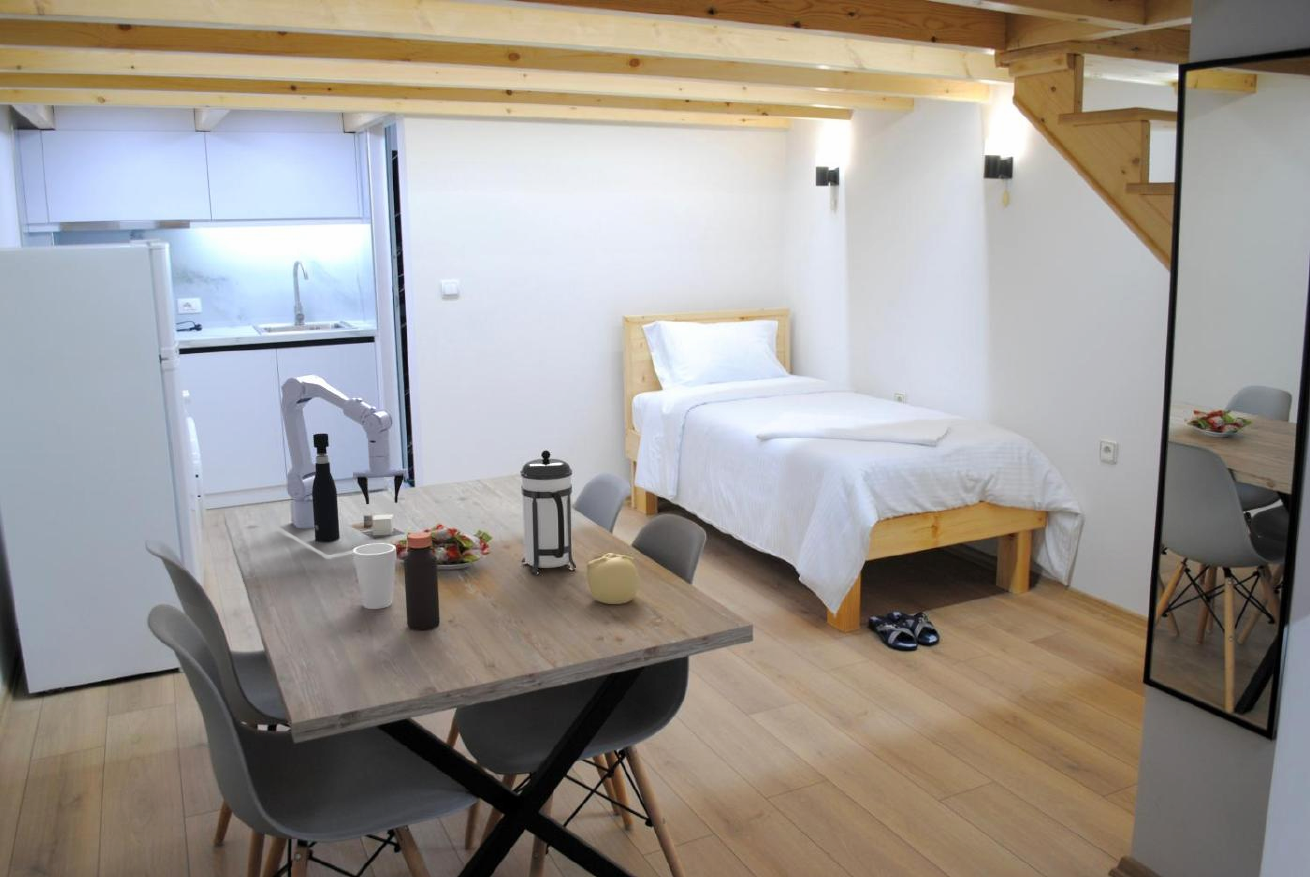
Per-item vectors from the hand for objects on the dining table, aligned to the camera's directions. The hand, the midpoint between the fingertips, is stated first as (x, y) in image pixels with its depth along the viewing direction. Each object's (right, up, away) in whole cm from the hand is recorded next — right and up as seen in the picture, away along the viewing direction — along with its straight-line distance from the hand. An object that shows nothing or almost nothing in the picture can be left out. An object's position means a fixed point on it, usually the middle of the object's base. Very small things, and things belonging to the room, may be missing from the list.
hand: (382, 502), depth 295 cm
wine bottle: (-14, -11, -5) cm, 18 cm away
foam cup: (+13, -20, -55) cm, 60 cm away
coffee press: (+50, -15, -29) cm, 60 cm away
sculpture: (+67, -19, -53) cm, 87 cm away
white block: (0, -8, +1) cm, 8 cm away
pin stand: (-6, -8, +8) cm, 13 cm away
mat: (0, -9, +1) cm, 9 cm away
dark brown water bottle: (+26, -22, -68) cm, 76 cm away
